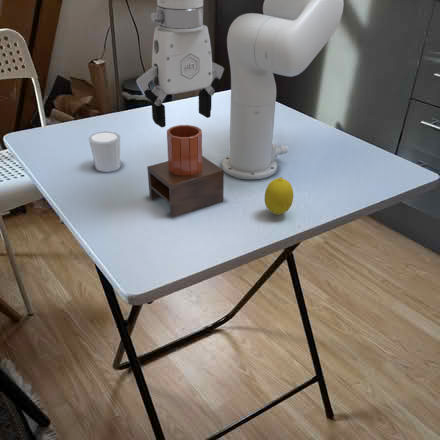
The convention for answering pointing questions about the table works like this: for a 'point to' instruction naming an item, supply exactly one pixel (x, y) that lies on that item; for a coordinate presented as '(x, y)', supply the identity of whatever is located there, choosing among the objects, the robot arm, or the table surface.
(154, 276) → the table surface
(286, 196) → the lemon
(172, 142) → the cup
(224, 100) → the table surface
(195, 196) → the shelf
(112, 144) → the white short cylinder
